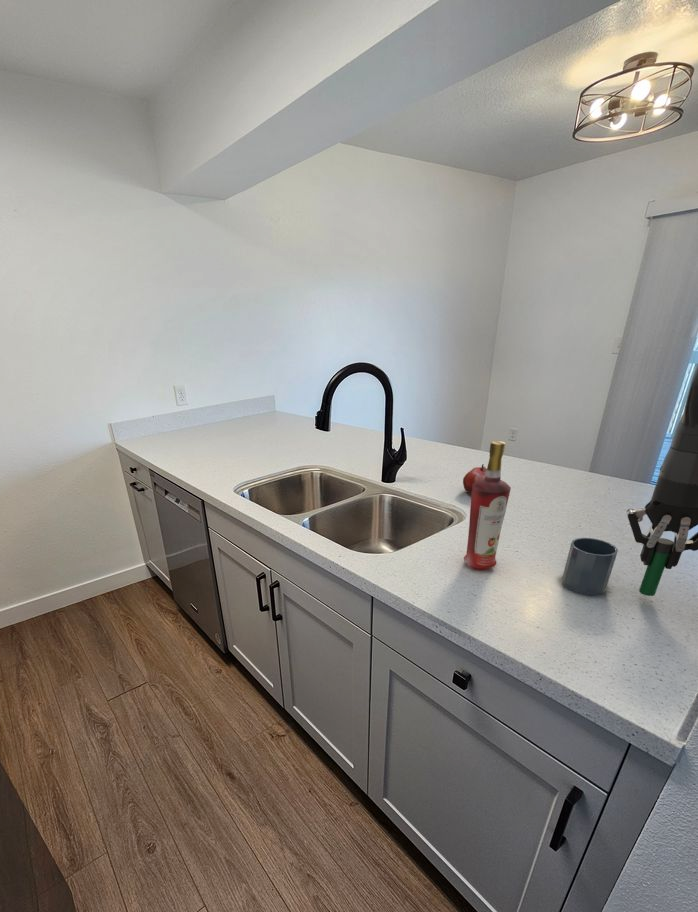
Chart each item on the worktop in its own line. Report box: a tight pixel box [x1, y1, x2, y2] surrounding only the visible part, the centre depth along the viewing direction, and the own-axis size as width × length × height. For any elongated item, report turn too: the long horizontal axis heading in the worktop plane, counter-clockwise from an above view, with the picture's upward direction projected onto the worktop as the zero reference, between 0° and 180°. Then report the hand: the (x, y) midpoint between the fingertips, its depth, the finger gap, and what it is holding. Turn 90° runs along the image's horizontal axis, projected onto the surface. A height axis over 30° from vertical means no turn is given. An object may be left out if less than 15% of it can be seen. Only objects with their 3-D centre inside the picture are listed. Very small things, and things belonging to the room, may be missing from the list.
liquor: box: [463, 440, 512, 571], centre depth 92 cm, size 7×7×28 cm
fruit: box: [462, 463, 487, 494], centre depth 135 cm, size 9×10×10 cm
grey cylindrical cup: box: [561, 537, 619, 596], centre depth 87 cm, size 8×8×9 cm
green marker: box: [638, 537, 674, 597], centre depth 80 cm, size 3×3×11 cm
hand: (656, 564), depth 80 cm, fingers closed on green marker, 2 cm apart
